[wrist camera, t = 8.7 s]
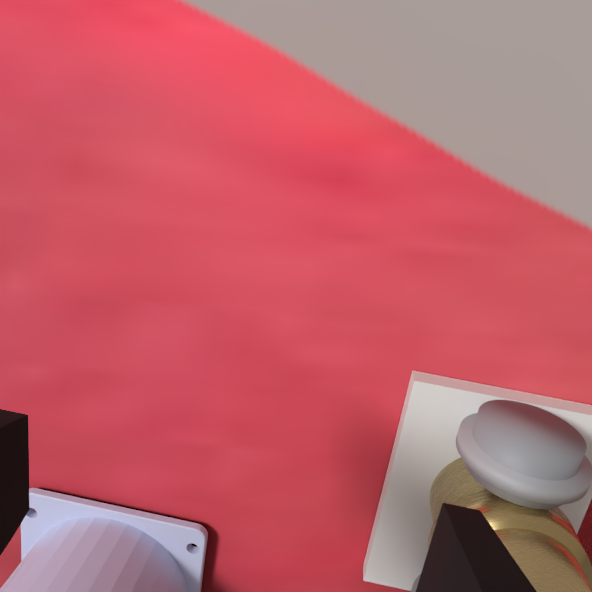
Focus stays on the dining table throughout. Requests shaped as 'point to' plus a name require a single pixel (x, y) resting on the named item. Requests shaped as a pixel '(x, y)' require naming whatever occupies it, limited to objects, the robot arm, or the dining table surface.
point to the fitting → (475, 463)
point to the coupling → (520, 532)
